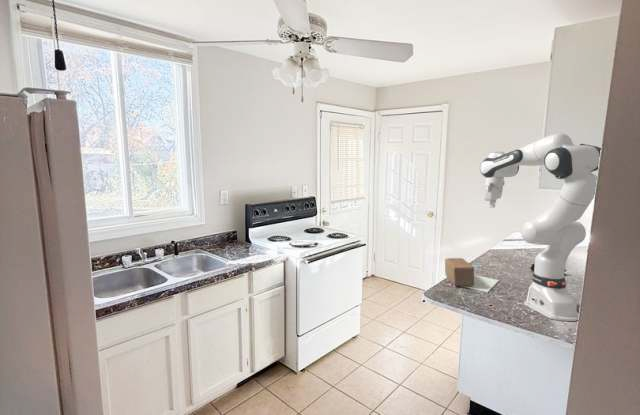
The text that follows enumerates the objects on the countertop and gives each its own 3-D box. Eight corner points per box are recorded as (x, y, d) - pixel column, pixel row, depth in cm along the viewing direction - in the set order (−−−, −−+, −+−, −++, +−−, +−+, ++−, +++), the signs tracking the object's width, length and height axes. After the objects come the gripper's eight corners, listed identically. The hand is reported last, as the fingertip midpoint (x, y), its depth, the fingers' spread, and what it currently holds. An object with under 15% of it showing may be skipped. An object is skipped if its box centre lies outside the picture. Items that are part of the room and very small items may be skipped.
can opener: (530, 273, 196) (531, 264, 195) (529, 270, 202) (529, 260, 201) (567, 277, 188) (568, 268, 188) (564, 274, 195) (565, 264, 194)
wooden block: (474, 267, 170) (462, 257, 190) (453, 267, 172) (444, 258, 191) (474, 286, 171) (463, 274, 191) (454, 286, 172) (444, 275, 192)
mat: (487, 292, 166) (487, 291, 166) (454, 284, 176) (454, 284, 176) (498, 280, 182) (499, 280, 182) (468, 274, 193) (468, 273, 193)
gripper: (495, 183, 172) (493, 210, 174) (505, 181, 187) (503, 206, 189) (482, 183, 176) (480, 209, 178) (493, 181, 191) (491, 205, 193)
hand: (492, 207), depth 184 cm, fingers closed
